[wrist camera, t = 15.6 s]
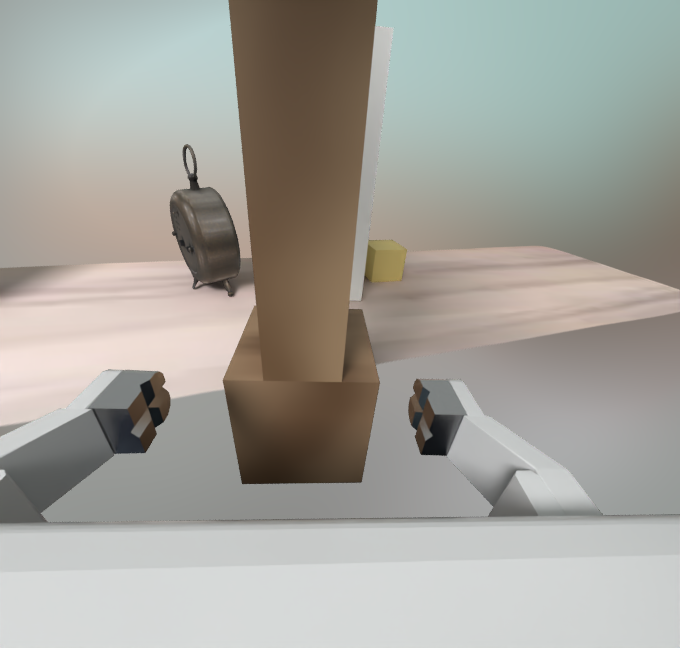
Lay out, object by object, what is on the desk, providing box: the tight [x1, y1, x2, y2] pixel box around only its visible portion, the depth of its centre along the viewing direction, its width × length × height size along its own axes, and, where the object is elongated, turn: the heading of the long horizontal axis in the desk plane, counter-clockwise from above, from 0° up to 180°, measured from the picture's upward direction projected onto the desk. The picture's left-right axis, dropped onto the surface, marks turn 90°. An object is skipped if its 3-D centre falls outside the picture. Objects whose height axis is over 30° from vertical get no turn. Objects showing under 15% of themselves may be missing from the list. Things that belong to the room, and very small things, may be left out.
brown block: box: [223, 0, 380, 484], centre depth 15 cm, size 7×22×7 cm
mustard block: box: [364, 240, 407, 282], centre depth 45 cm, size 5×5×5 cm
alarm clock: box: [170, 144, 240, 297], centre depth 35 cm, size 11×5×16 cm, turn 39°
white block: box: [350, 26, 393, 301], centre depth 36 cm, size 12×12×26 cm
